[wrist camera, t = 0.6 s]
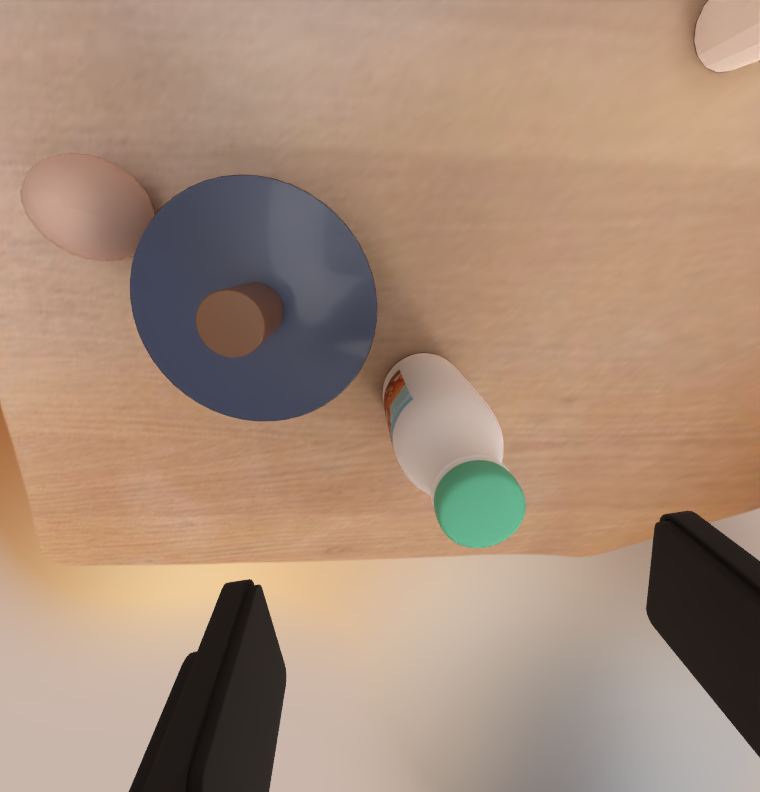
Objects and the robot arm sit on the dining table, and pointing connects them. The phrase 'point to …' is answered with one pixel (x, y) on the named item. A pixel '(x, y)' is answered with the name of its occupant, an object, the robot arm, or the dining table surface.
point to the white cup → (728, 34)
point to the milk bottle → (452, 450)
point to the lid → (253, 298)
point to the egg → (86, 206)
